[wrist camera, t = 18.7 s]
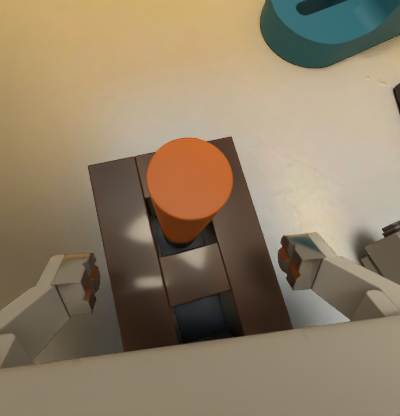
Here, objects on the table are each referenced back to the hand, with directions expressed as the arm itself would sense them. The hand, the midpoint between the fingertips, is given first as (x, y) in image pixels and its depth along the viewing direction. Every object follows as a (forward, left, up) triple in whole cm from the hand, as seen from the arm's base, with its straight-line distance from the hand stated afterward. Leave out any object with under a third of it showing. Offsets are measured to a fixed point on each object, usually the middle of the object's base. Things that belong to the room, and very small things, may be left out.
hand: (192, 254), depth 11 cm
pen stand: (0, -1, -10) cm, 11 cm away
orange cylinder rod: (0, +2, -10) cm, 11 cm away
